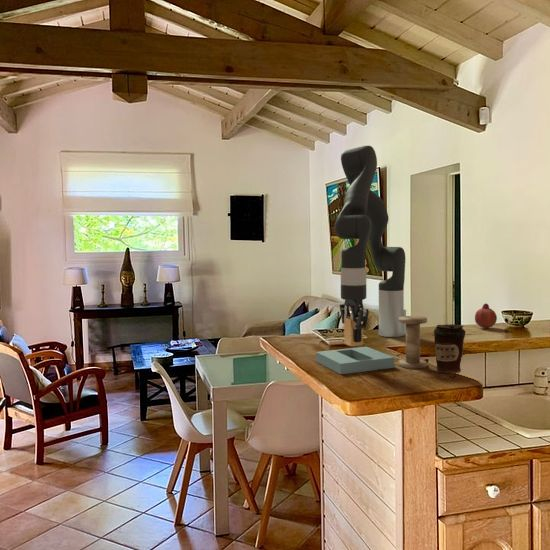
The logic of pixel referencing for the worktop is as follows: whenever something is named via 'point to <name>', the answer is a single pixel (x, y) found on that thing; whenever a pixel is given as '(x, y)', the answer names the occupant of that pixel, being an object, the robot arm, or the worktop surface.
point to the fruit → (485, 317)
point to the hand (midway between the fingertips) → (353, 340)
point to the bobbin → (413, 342)
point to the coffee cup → (449, 347)
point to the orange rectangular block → (350, 332)
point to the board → (354, 360)
